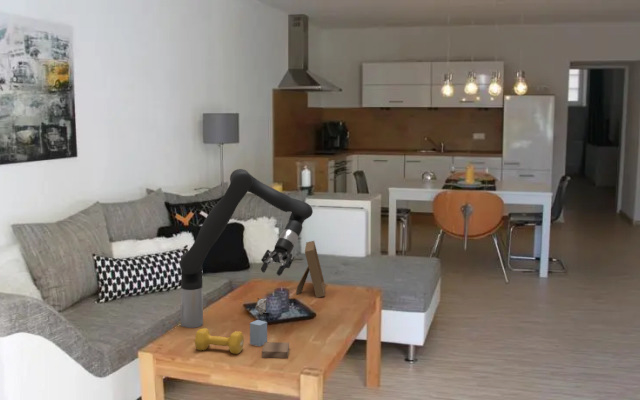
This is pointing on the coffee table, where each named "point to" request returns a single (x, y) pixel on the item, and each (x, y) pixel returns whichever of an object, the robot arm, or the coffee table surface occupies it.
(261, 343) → the pillar
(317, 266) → the photo frame
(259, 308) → the game die
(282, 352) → the slab
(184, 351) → the coffee table surface
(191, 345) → the coffee table surface
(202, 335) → the dumbbell
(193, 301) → the robot arm
